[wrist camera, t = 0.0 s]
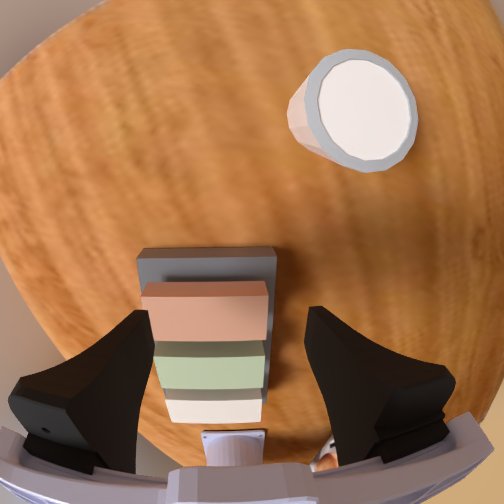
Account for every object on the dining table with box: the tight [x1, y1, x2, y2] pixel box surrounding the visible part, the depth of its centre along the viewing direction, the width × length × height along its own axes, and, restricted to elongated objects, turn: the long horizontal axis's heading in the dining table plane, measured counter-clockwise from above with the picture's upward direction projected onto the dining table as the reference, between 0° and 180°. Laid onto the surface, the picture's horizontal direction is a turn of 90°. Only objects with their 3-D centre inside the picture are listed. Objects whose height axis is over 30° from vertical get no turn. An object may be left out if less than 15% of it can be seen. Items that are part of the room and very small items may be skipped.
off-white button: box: [165, 388, 262, 423], centre depth 22 cm, size 4×8×2 cm, turn 89°
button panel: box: [136, 247, 277, 404], centre depth 23 cm, size 16×10×2 cm, turn 179°
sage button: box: [153, 340, 265, 389], centre depth 21 cm, size 4×8×2 cm, turn 89°
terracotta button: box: [141, 281, 269, 341], centre depth 19 cm, size 4×8×2 cm, turn 89°
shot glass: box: [287, 49, 418, 173], centre depth 15 cm, size 7×7×7 cm
